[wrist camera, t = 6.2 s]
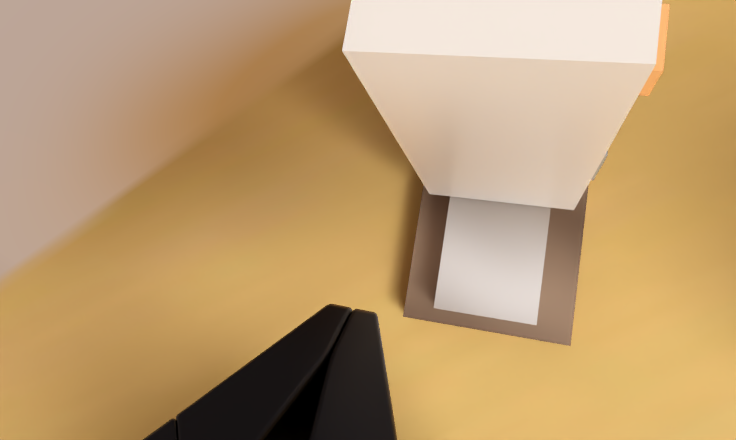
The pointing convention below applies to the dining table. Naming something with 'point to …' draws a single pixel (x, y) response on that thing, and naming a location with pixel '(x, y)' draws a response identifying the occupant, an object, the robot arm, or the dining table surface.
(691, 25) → the dining table surface
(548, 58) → the switch module
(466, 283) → the rail board
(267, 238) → the dining table surface
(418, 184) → the dining table surface
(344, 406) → the robot arm
